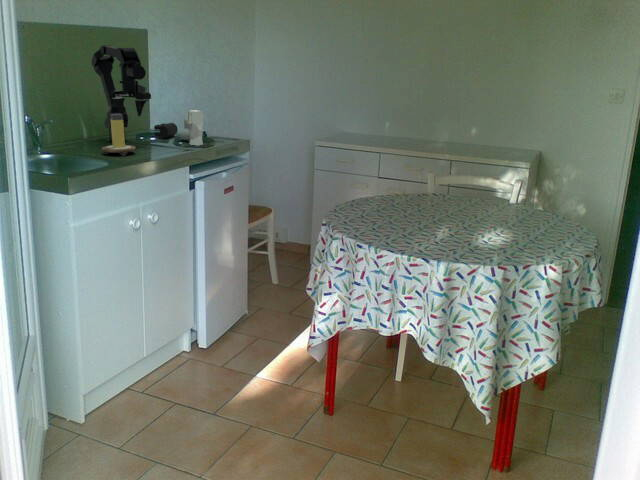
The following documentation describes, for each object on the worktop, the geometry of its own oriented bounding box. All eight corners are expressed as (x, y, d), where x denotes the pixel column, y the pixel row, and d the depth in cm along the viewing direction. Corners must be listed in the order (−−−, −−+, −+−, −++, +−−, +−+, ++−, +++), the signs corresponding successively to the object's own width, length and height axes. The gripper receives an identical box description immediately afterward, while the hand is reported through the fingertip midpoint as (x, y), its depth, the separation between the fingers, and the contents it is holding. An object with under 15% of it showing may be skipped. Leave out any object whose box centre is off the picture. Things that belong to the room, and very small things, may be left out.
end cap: (168, 139, 298) (167, 125, 296) (154, 139, 300) (153, 124, 298) (178, 137, 307) (177, 122, 305) (164, 136, 309) (164, 122, 307)
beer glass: (189, 143, 288) (187, 109, 284) (204, 143, 289) (203, 110, 284) (187, 146, 282) (185, 111, 277) (203, 146, 282) (202, 111, 278)
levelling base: (95, 154, 257) (94, 147, 256) (117, 150, 268) (117, 143, 267) (120, 157, 252) (120, 150, 251) (142, 152, 263) (142, 146, 262)
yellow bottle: (112, 146, 260) (110, 114, 256) (122, 145, 262) (120, 113, 258) (115, 147, 257) (112, 115, 253) (125, 147, 259) (122, 114, 255)
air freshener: (188, 143, 290) (187, 120, 287) (176, 141, 295) (175, 119, 292) (206, 140, 298) (205, 118, 295) (194, 138, 303) (193, 117, 300)
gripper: (158, 78, 275) (160, 115, 279) (124, 76, 282) (126, 112, 287) (141, 79, 265) (143, 117, 270) (106, 77, 272) (109, 114, 277)
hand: (131, 115), depth 276 cm, fingers open, 9 cm apart
